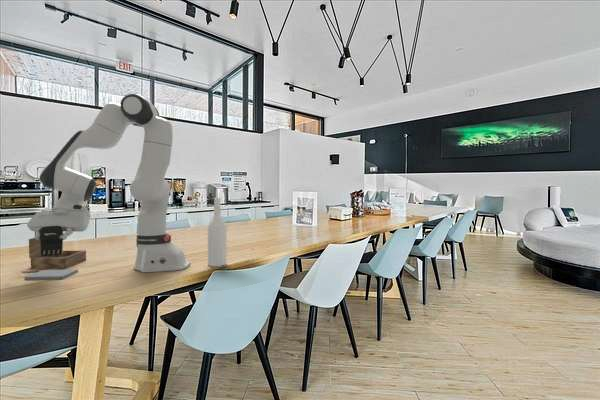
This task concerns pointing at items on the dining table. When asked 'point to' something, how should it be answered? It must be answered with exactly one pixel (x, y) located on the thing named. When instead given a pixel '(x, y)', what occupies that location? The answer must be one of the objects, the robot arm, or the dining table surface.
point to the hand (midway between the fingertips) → (50, 238)
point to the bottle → (217, 238)
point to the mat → (51, 274)
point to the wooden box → (52, 258)
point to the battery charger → (51, 240)
